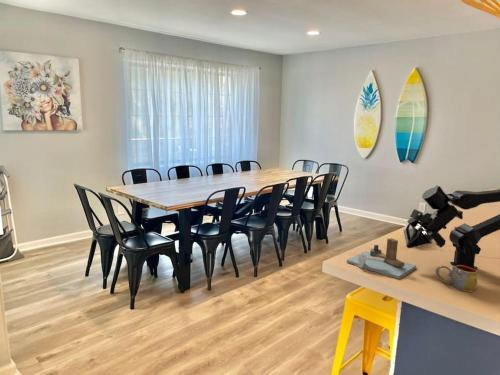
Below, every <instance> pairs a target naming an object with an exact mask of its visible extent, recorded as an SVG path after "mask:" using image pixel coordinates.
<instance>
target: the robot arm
mask: <svg viewBox="0 0 500 375" xmlns="http://www.w3.org/2000/svg"><path fill="white" fill-rule="evenodd" d="M421 199H423V200H424V201H425V203H426V204H428V206H429V207H430V208H431V209H432V210H436V211H435V212H434V213H432V212H427V211H424V212H421V211H420V210H417V209H416V208H414V209H413V210H412V212H411V214H410V215H409V217H410V218H408V220H407V221H406V222H407V223H409V224H410V225H411V226H412V227H413V235H412V237H411V238H410V240H409V242H408V244H407V245H406V244H405V245H406V248H408V249H413V248H415V247H416V248H417V246H420V245H422V246H424V245H428V244H432V241H434V242H435V244H436V246H437V247H439V248H442V247H444V246H445V245H446V241H447V240H446V239H445V238H444V237H443V236H442V235H441V234H440V233H439V232H440V231H441V230H442V229H444V230H446V229H447V228H448V227H447V225H448V224H449V223H450V222H451V221H453V220H454V219H455V218H457V219H459V220H463V219H464V218H463V217H464V216H463V213H464V212H463V211H462V210H470V209H475V208H477V207H479V206H481V205H483V204H491V203H499V202H500V188H499V189H493V190H492V189H491V190H484V191H468V190H455V191H453V192H452V193H447V194H446V193H445V192H444V190H443V189H442V187H441V186H439V185H436V186H435V187H431V188H429V189H427V190H425V191H424V192H423V193H422V196H421ZM450 203H451V204H450ZM458 208H459V209H458ZM460 209H461V210H460ZM497 231H500V213H499V214H497V215H495V216H493V217H490V218H488V219H486V220H484V221H482V222H479V223H477V224H475V225H469V224H467V223H462V224H461V225H459V226H454V228H453V229H452V230H451V231H450V233H449V241H450V242H451V243H452V246H453V248H455V250H454V255H453V256H454V257H453V261H450V262H449V263H450V264H451V265H452V266H456V265H464V266H467V267H470V268H473V269H475V270H478V267H477V266H476V265H475V260H476V255H479V254H480V252H481V250H482V248H481V247H480V246H479V245H478V244H479V242H480V241H481V239H483V238H484V237H486V236H489V235H491V234H493V233H495V232H497ZM420 247H421V246H420Z"/></svg>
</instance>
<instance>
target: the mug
mask: <svg viewBox="0 0 500 375" xmlns="http://www.w3.org/2000/svg"><path fill="white" fill-rule="evenodd" d="M440 269H446V270H447V271H448V272H449V273H447V276H448V277H450V278H449V279H448V278H446V277H443V276H442V275H441V274H440ZM478 272H479V271H478V269H473V268H470V267H467V266H464V265H456V266H454V265H452V269H451V268H450V267H449V266H447V265H440V266H438V267H436V270H435V274H436V276H437V277H438V279H439V280H441V281H442V282H444V283H446V284H449V285H451V286H452V287H454V288H455V289H457V290H460V291H462V292H463V291H464V292H469V293H473V291H474V290H476V289H477V286H478V277H477V276H478Z"/></svg>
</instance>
